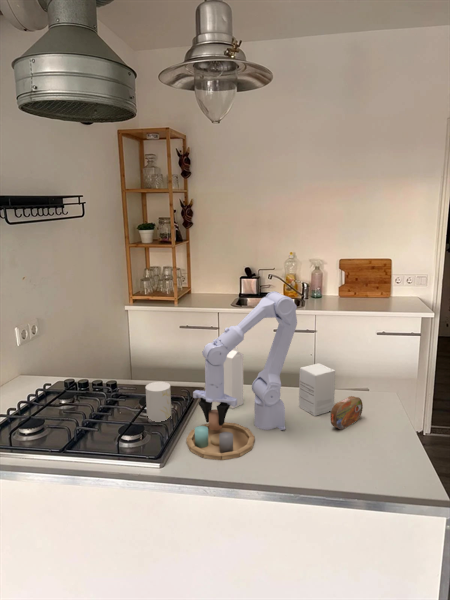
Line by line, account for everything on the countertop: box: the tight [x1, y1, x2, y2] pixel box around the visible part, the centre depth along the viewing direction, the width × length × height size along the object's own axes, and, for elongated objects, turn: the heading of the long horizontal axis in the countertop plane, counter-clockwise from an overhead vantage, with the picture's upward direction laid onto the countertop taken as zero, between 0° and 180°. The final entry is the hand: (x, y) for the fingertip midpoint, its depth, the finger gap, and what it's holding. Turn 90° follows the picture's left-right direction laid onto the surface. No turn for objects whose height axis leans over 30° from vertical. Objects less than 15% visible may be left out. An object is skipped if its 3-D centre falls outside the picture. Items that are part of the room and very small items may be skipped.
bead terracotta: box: [208, 408, 222, 430], centre depth 146 cm, size 4×4×5 cm
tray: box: [185, 421, 256, 461], centre depth 141 cm, size 20×20×2 cm
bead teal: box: [194, 425, 208, 448], centre depth 139 cm, size 4×4×5 cm
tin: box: [330, 395, 363, 430], centre depth 153 cm, size 15×3×8 cm, turn 131°
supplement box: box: [298, 362, 336, 417], centre depth 163 cm, size 9×9×15 cm
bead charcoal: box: [219, 432, 233, 453], centre depth 135 cm, size 4×4×5 cm
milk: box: [224, 346, 244, 410], centre depth 167 cm, size 6×6×22 cm
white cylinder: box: [145, 381, 172, 422], centre depth 156 cm, size 8×8×12 cm
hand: (215, 422), depth 146 cm, fingers closed on bead terracotta, 4 cm apart
